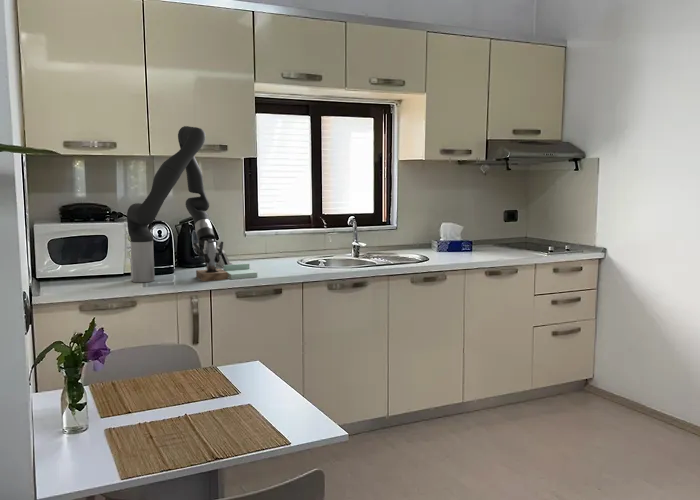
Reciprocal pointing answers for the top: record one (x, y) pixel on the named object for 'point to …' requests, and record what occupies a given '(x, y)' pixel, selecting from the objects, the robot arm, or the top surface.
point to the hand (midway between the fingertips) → (212, 261)
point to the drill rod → (211, 255)
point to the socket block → (211, 275)
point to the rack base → (239, 271)
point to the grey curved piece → (223, 259)
